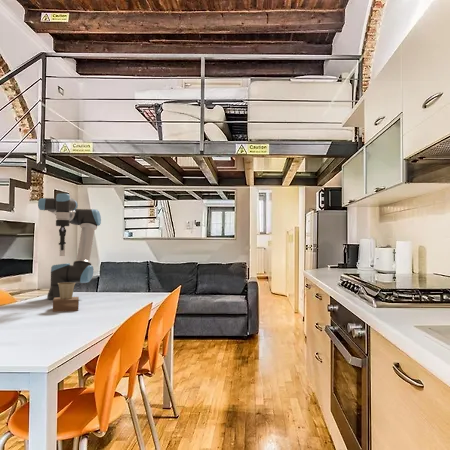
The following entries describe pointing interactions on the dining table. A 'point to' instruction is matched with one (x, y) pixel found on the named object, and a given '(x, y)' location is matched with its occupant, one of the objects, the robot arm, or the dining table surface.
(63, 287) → the flower pot
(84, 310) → the dining table surface
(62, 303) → the walnut block
